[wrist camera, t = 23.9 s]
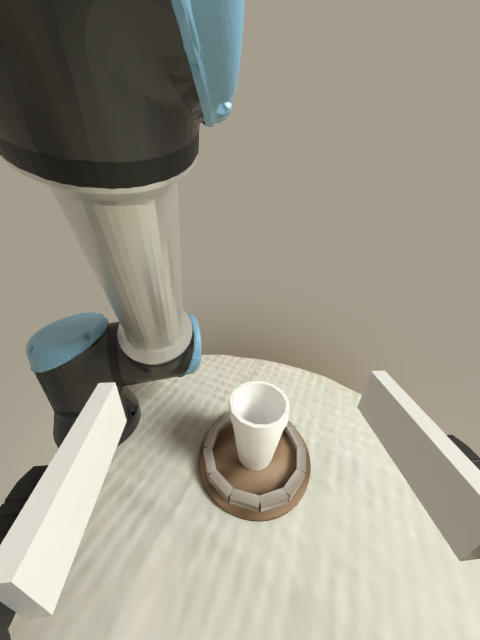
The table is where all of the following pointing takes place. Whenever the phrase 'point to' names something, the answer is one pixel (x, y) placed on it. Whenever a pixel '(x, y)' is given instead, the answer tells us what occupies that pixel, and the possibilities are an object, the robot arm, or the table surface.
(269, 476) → the plate
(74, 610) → the table surface
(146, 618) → the table surface
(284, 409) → the foam cup
